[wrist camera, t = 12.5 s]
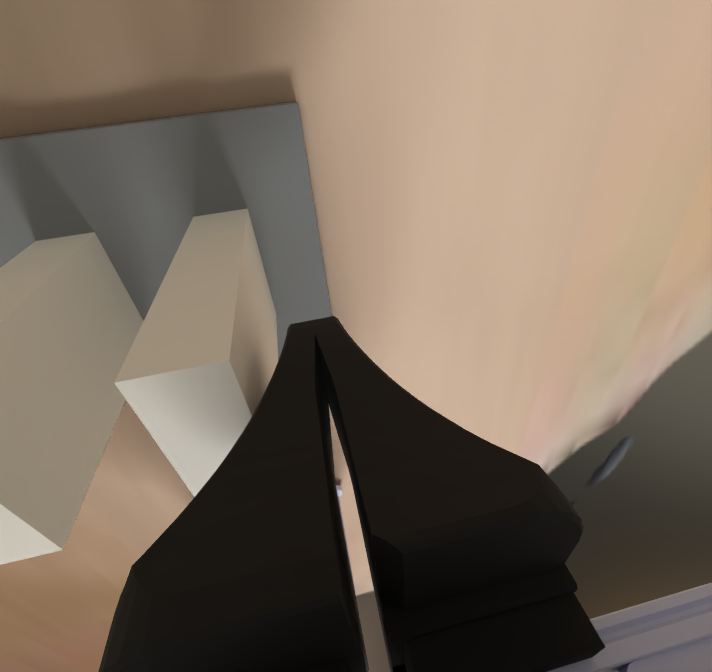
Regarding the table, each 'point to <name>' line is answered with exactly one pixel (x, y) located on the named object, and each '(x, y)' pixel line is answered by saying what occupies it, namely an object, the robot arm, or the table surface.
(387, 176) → the table surface
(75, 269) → the domino
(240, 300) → the domino
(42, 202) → the domino mat
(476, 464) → the robot arm
